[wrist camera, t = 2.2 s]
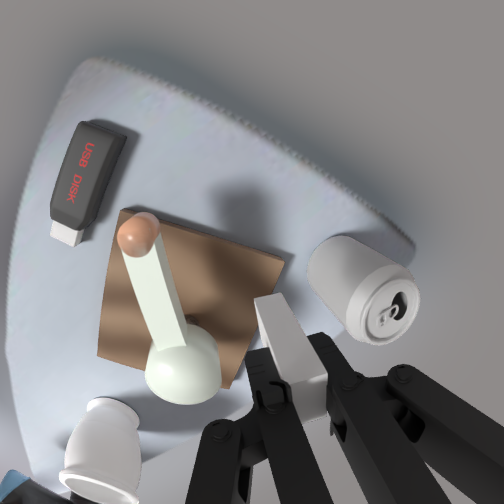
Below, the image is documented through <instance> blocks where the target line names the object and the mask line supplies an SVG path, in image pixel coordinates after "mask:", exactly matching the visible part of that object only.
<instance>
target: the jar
mask: <svg viewBox="0 0 504 504" xmlns="http://www.w3.org/2000/svg"><path fill="white" fill-rule="evenodd" d="M87 410H88V412H86V413H85V414H84V415H83V416H82V418H81V419H80V420H79V422H78V424H77V426H76V427H75V429H74V431H73V432H72V434H71V436H70V438H69V441H68V444H67V447H66V452H65V469H63V470H61V471H60V473H59V480H60V481H61V483H62V484H63V485H65V486H66V487H67V488H68V489H70V490H71V491H73V492H75V493H76V494H78V495H80V496H82V497H84V498H87V499H89V500H92V501H94V502H97V503H101V504H139V497H138V495H137V494H136V493H135V491H136V489H137V487H138V484H139V480H140V475H141V465H142V462H141V452H140V439H139V434H138V431H137V427H138V426H139V417H138V415H137V414H136V412H135V411H134V410H133V409H131V408H130V407H129V406H127V405H126V404H124V403H122V402H120V401H117V400H114V399H110V398H95V399H93V400H91V401H90V402H89V403H88V406H87Z"/></svg>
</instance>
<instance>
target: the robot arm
mask: <svg viewBox="0 0 504 504" xmlns="http://www.w3.org/2000/svg"><path fill="white" fill-rule="evenodd" d="M254 303H255V308H256V314H257V319H258V325H259V330H260V335H261V340H262V343H263V346H264V348H261V349H257V350H252V351H248V352H247V354H246V357H245V359H244V360H245V365H246V369H247V373H248V378H249V382H250V386H251V391H252V398H253V401H254V404H253V408H252V409H251V411H250V412H249V413H248V414H247V415H245V416H244V417H242V418H241V419H238V420H236V421H232V420H228V419H219V420H215V421H213V422H211V423H209V424H208V425H207V426H206V427H205V428H204V430H203V432H202V436H201V440H200V444H199V448H198V452H197V457H196V461H195V465H194V469H193V473H192V477H191V481H190V485H189V489H188V493H187V497H186V502H185V504H250V495H251V485H252V474H253V465H255V464H257V463H259V462H261V461H263V460H265V459H267V458H268V460H269V463H270V467H271V471H272V475H273V478H274V482H275V485H276V489H277V492H278V496H279V499H280V503H281V504H334V503H333V501H332V499H331V496H330V493H329V491H328V488H327V486H326V484H325V481H324V479H323V476H322V474H321V472H320V469H319V467H318V464H317V461H316V459H315V456H314V454H313V451H312V449H311V447H310V444H309V442H308V439H307V436H306V434H305V431H304V429H303V426H302V424H305V423H308V422H312V421H315V420H318V419H321V418H324V417H326V416H327V411H328V413H329V415H330V417H331V423H330V435H331V436H332V435H333V432H334V433H335V435H336V437H337V439H338V442H339V443H340V446H341V448H342V450H343V452H344V454H345V456H346V458H347V460H348V462H349V464H350V466H351V469H352V471H353V473H354V475H355V477H356V479H357V481H358V483H359V485H360V487H361V489H362V491H363V493H364V495H365V497H366V500H367V502H368V504H451V502H450V500H449V499H448V497H447V496H446V494H445V493H444V491H443V490H442V488H441V487H440V485H439V484H438V482H437V481H436V479H435V478H434V476H433V475H432V473H431V471H430V470H429V468H428V467H427V465H426V464H425V462H426V463H427V464H428V465H429V466H430V467H432V468H433V469H434V470H435V471H436V472H438V473H439V474H440V475H441V476H442V477H444V478H445V479H446V480H447V481H449V482H450V483H451V484H452V485H454V486H455V487H456V488H457V489H459V490H460V491H461V492H462V493H464V494H465V495H466V496H467V497H469V498H470V499H471V500H473V501H474V502H475V503H476V504H504V427H503V426H501V425H500V424H498V423H497V422H495V421H494V420H492V419H491V418H489V417H488V416H486V415H485V414H483V413H481V412H480V411H479V410H477V409H476V408H474V407H473V406H471V405H470V404H468V403H467V402H465V401H464V400H462V399H461V398H459V397H458V396H456V395H455V394H453V393H452V392H450V391H449V390H447V389H446V388H444V387H443V386H441V385H440V384H439V383H437V382H436V381H434V380H433V379H431V378H429V377H428V376H427V375H425V374H424V373H422V372H420V371H419V370H418V369H416V368H415V367H413V366H410V365H406V364H401V365H397V366H394V367H392V368H391V369H390V370H389V372H388V375H387V376H381V377H370V378H368V377H365V376H364V375H363V374H361V373H359V372H356V371H354V370H353V369H352V368H351V366H350V365H349V363H348V362H347V360H346V359H345V357H344V356H343V355H342V353H341V352H340V351H339V349H338V348H337V346H336V345H335V343H334V342H333V340H332V339H331V337H330V336H328V335H326V334H325V333H323V332H320V333H316V334H313V335H309V336H306V335H305V333H304V331H303V329H302V328H301V326H300V324H299V323H298V321H297V319H296V317H295V316H294V314H293V312H292V310H291V309H290V307H289V305H288V304H287V302H286V300H285V298H284V297H283V295H282V293H281V292H280V293H276V294H272V295H267V296H263V297H258V298H254ZM0 504H101V503H97V502H94V501H92V500H89V499H87V498H84V497H82V496H80V495H78V494H76V493H75V492H73V491H71V497H70V500H68V499H66V498H64V497H62V496H60V495H58V494H56V493H54V492H53V491H51V490H49V489H47V488H45V487H43V486H42V485H40V484H38V483H37V482H35V481H33V480H32V479H31V478H30V477H26V476H25V475H23V474H21V473H20V472H18V471H16V470H9V471H8V472H7V474H6V475H5V477H4V478H3V480H2V482H1V484H0Z"/></svg>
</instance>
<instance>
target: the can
mask: <svg viewBox="0 0 504 504" xmlns="http://www.w3.org/2000/svg"><path fill="white" fill-rule="evenodd" d="M307 279H308V282H309V284H310V286H311V289H312V290H313V291H314V292H315V293H316V294H317V296H318V297H319V298H320V299H321V300H322V302H323V303H324V304H325V305H326V306H327V307H328V309H329V310H330V311H331V312H332V313H333V314H334V316H335V317H336V318H337V319H338V320H339V322H340V323H341V324H342V325H343V326H344V328H345V329H346V330H347V331H348V332H349V334H351V335H352V336H353V337H354V338H355V339H356V340H358V341H361V342H365V343H369V344H372V345H376V346H378V345H385V344H387V343H390V342H392V341H395V340H396V339H397V338H399V337H400V336H401V335H403V334H404V332H405V331H406V330H407V329H408V328H409V327H410V326H411V324H412V322H413V321H414V319H415V318H416V315H417V312H418V309H419V304H420V292H419V288H418V287H417V285H416V283H415V281H414V278H413V276H412V274H411V273H410V271H409V270H408V269H406V268H405V267H403V266H401V265H400V264H398V263H396V262H394V261H393V260H391V259H389V258H387V257H386V256H384V255H382V254H380V253H378V252H377V251H375V250H373V249H371V248H369V247H368V246H366V245H364V244H362V243H360V242H358V241H357V240H355V239H353V238H351V237H349V236H341V235H340V236H335V237H331V238H329V239H327V240H326V241H324V242H322V243H321V244H320V245H319V246H318V247H317V248H316V249H315V250H314V252H313V254H312V256H311V258H310V259H309V262H308V267H307Z"/></svg>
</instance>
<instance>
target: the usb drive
mask: <svg viewBox="0 0 504 504" xmlns="http://www.w3.org/2000/svg"><path fill="white" fill-rule="evenodd" d="M126 139H127V137H126V136H123V135H121V134H118V133H116V132H113V131H110V130H108V129H105V128H103V127H100V126H97V125H94V124H92V123H89V122H86V121H81V122H80V123H79V124H78V125H77V127H76V130H75V132H74V134H73V137H72V139H71V141H70V144H69V147H68V149H67V152H66V155H65V157H64V160H63V163H62V166H61V169H60V172H59V175H58V178H57V181H56V184H55V188H54V191H53V194H52V198H51V202H50V217H51V219H52V220H54V221H53V225H52V229H51V233H50V236H52V237H54V238H56V239H58V240H60V241H62V242H64V243H66V244H68V245H70V246H72V247H75V246H77V245H78V244H80V242H81V239H82V235H83V231H84V229H85V228H86V227H88V226H89V225H90V224H91V223H92V222H93V221H94V220H95V219H96V216H97V213H98V210H99V207H100V204H101V201H102V199H103V196H104V193H105V190H106V187H107V185H108V182H109V180H110V177H111V174H112V172H113V169H114V167H115V164H116V162H117V160H118V157H119V155H120V153H121V150H122V148H123V146H124V143H125V141H126Z"/></svg>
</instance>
